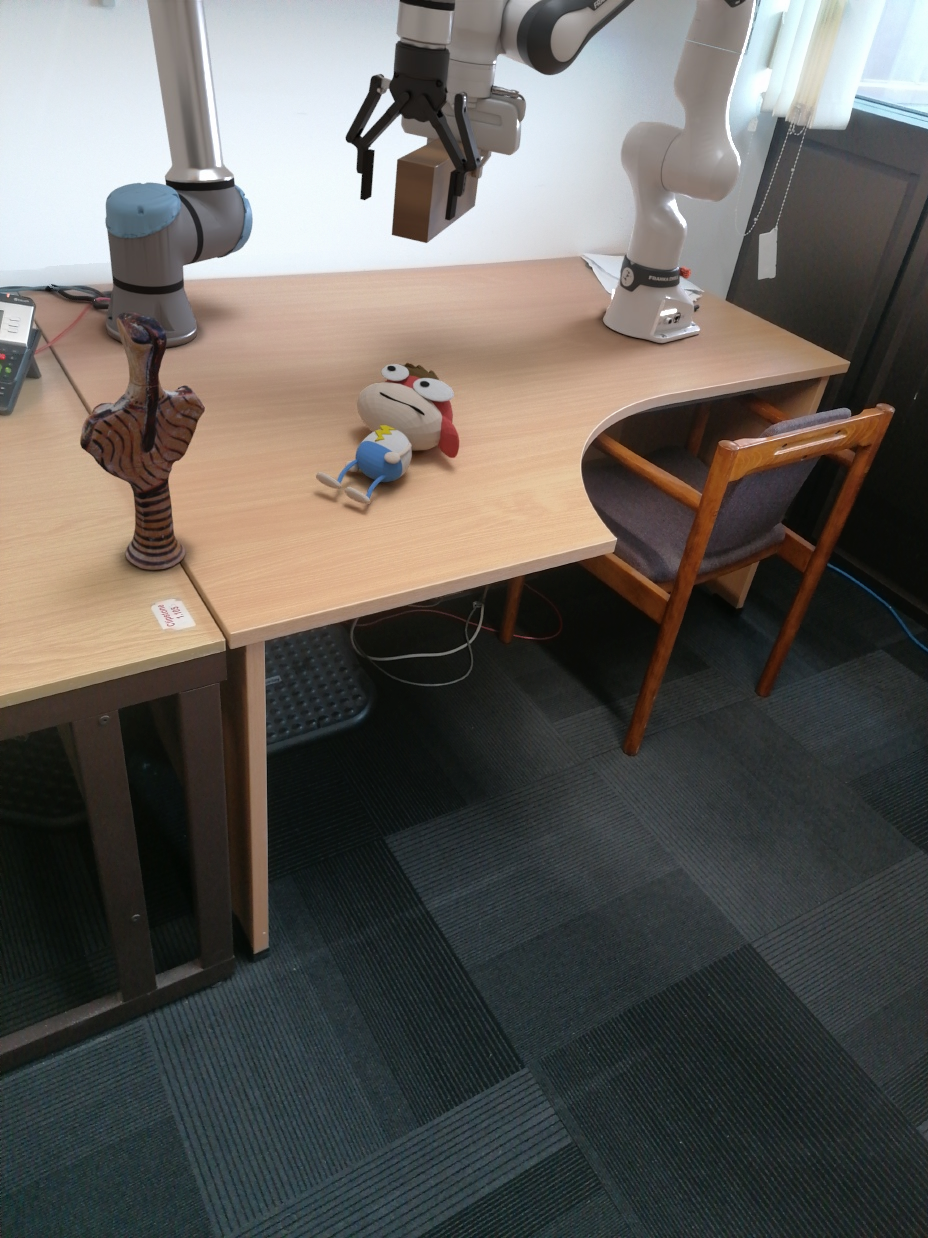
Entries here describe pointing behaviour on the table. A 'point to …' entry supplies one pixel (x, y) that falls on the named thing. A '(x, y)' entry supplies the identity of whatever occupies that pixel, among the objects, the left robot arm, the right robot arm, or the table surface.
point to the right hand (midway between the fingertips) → (455, 172)
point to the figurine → (145, 440)
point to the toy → (399, 425)
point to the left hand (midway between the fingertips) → (407, 207)
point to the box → (427, 193)
